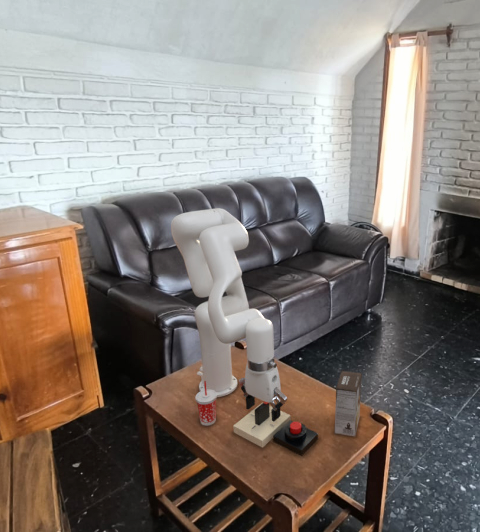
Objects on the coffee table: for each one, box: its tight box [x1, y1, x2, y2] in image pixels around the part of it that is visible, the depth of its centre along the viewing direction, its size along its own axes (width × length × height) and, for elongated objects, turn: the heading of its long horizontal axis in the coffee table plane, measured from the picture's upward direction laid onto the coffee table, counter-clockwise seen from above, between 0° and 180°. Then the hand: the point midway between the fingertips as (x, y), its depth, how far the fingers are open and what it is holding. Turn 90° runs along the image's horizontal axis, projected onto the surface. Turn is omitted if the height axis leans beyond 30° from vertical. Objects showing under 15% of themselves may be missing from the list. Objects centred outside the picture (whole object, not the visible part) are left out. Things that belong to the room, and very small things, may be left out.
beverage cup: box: [195, 381, 218, 427], centre depth 130 cm, size 6×6×14 cm
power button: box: [290, 421, 302, 434], centre depth 124 cm, size 3×3×2 cm
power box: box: [272, 419, 319, 457], centre depth 125 cm, size 10×8×4 cm
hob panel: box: [232, 401, 291, 448], centre depth 130 cm, size 11×13×3 cm
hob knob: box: [254, 401, 270, 425], centre depth 129 cm, size 5×2×5 cm, turn 148°
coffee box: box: [334, 370, 363, 437], centre depth 130 cm, size 9×6×16 cm
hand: (263, 412), depth 128 cm, fingers open, 9 cm apart
